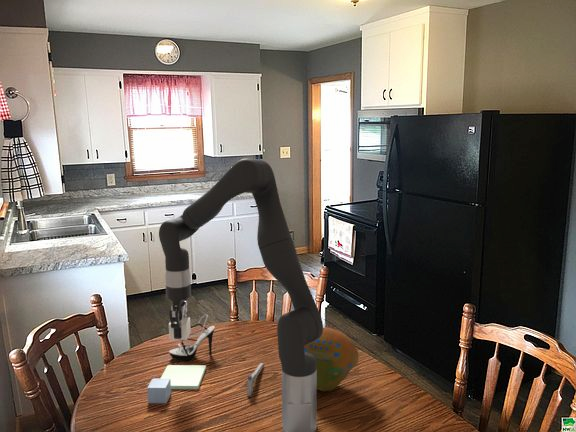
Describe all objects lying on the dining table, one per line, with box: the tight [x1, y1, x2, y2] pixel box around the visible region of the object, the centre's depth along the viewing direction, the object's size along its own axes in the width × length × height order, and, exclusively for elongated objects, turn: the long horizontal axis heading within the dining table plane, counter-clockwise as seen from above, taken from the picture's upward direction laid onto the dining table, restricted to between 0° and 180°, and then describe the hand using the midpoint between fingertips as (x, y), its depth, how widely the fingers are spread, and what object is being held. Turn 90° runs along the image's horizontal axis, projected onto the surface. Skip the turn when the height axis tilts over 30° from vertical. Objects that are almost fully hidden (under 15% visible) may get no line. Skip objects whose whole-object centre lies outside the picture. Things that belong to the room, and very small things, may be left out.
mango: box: [304, 326, 359, 392], centre depth 150 cm, size 20×16×20 cm
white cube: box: [168, 317, 192, 341], centre depth 152 cm, size 5×5×5 cm
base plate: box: [160, 364, 207, 390], centre depth 157 cm, size 13×13×1 cm
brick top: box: [146, 377, 172, 404], centre depth 146 cm, size 5×5×5 cm
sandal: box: [168, 314, 216, 363], centre depth 171 cm, size 15×9×15 cm, turn 82°
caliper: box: [246, 362, 265, 397], centre depth 156 cm, size 20×1×6 cm, turn 172°
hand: (180, 333), depth 152 cm, fingers closed on white cube, 5 cm apart
